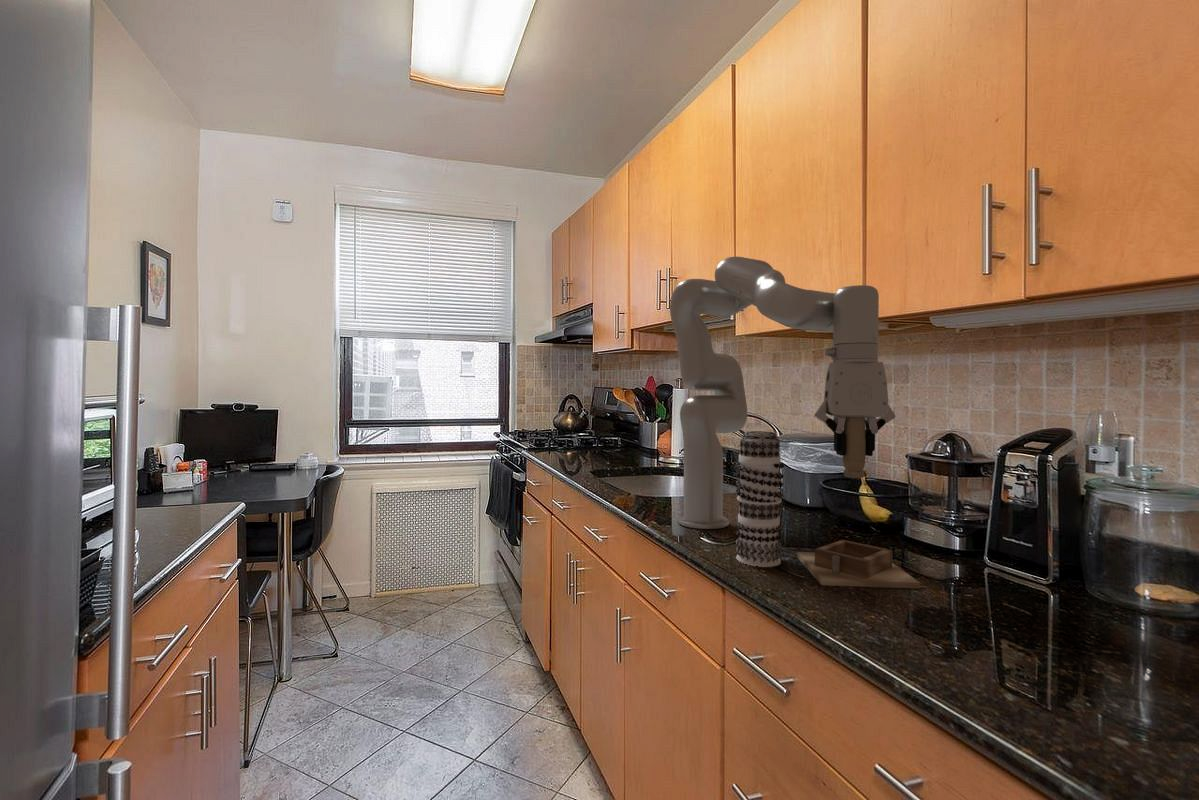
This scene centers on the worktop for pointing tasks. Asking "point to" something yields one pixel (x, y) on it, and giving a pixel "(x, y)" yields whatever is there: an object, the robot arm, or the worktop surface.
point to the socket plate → (849, 580)
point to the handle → (854, 447)
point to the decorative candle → (759, 499)
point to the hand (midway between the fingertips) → (854, 454)
